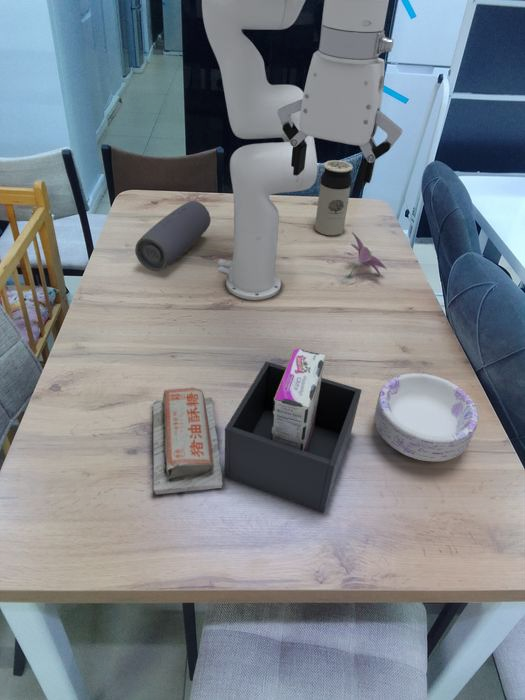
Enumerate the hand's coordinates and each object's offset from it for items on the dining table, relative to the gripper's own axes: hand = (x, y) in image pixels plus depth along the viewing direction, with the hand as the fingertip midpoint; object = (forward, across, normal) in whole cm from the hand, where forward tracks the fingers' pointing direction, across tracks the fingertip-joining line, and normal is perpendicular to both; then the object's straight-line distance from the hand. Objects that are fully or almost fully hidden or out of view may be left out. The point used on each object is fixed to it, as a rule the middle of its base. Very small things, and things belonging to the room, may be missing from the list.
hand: (329, 179), depth 74 cm
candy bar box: (+35, -6, +22) cm, 42 cm away
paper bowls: (+36, -24, +10) cm, 44 cm away
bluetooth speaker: (+37, +42, -25) cm, 61 cm away
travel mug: (+37, +12, -56) cm, 69 cm away
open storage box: (+35, -6, +22) cm, 42 cm away
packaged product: (+36, +10, +28) cm, 46 cm away
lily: (+37, -3, -38) cm, 53 cm away
